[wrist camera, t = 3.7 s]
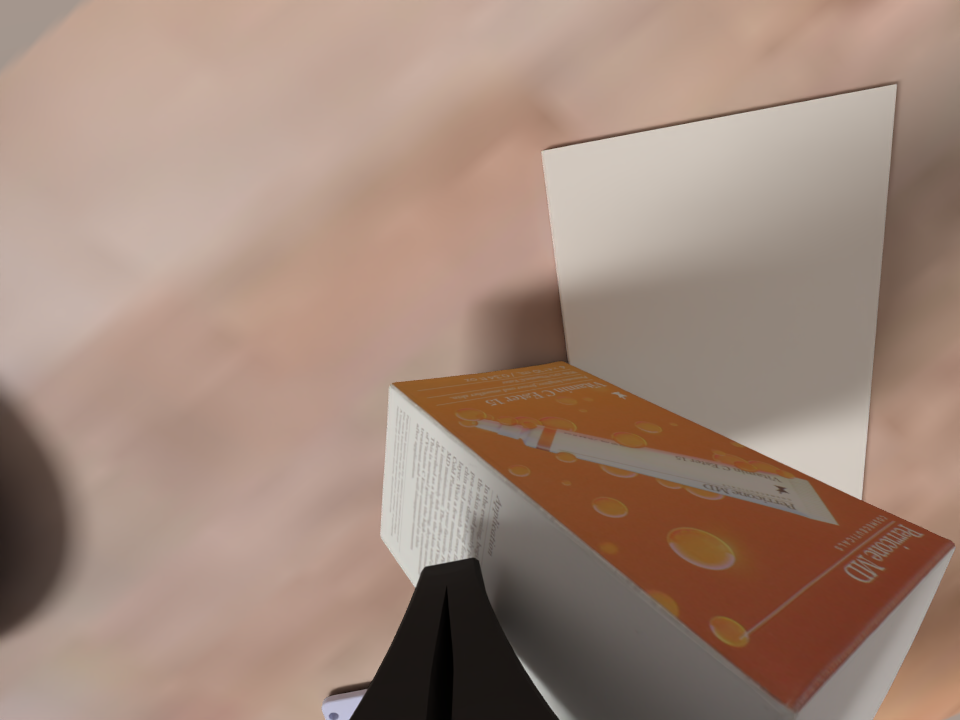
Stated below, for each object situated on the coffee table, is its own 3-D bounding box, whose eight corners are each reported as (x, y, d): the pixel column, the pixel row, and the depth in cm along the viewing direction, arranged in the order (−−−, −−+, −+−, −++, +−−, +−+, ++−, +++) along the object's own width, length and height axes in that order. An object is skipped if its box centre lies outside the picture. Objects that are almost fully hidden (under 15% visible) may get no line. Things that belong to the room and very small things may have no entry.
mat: (852, 530, 25) (858, 536, 24) (595, 579, 25) (598, 585, 24) (887, 86, 18) (897, 83, 18) (541, 151, 18) (543, 150, 18)
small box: (561, 356, 21) (966, 539, 11) (538, 487, 23) (865, 741, 13) (383, 377, 16) (806, 724, 6) (373, 538, 18) (687, 994, 8)
